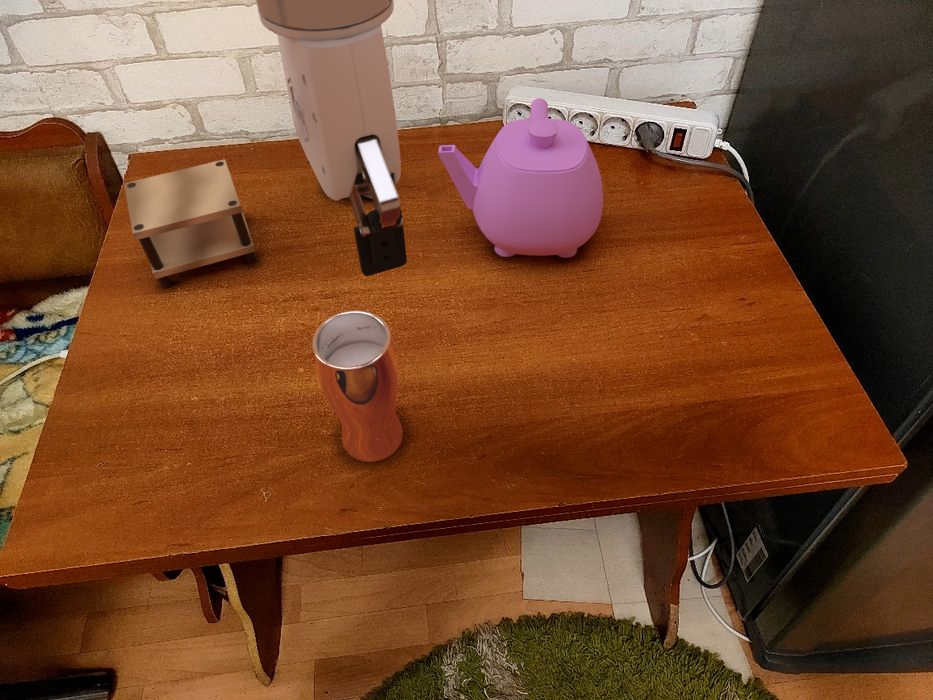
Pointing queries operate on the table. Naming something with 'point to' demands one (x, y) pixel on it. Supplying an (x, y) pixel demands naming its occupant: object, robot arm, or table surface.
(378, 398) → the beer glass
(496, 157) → the teapot
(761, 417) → the table surface
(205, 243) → the rack
